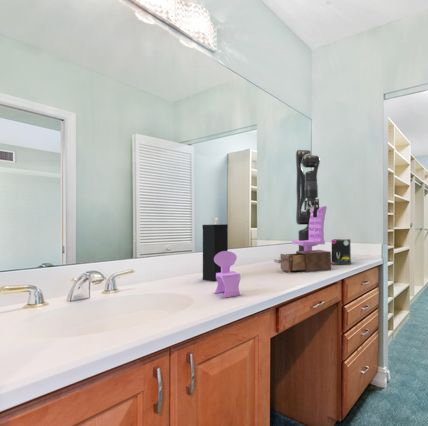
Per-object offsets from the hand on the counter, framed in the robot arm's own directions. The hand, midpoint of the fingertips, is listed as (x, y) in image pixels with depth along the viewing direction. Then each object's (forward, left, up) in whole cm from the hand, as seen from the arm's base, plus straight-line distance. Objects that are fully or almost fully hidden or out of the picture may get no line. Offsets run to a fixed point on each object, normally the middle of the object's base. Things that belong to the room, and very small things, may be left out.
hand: (311, 217), depth 161 cm
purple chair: (-9, +3, -28) cm, 30 cm away
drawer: (+9, -16, -27) cm, 33 cm away
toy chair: (+42, -55, -28) cm, 75 cm away
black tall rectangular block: (+11, -55, -28) cm, 63 cm away
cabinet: (+9, -4, -28) cm, 30 cm away
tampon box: (-2, +21, -28) cm, 35 cm away
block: (+9, -16, -26) cm, 32 cm away
